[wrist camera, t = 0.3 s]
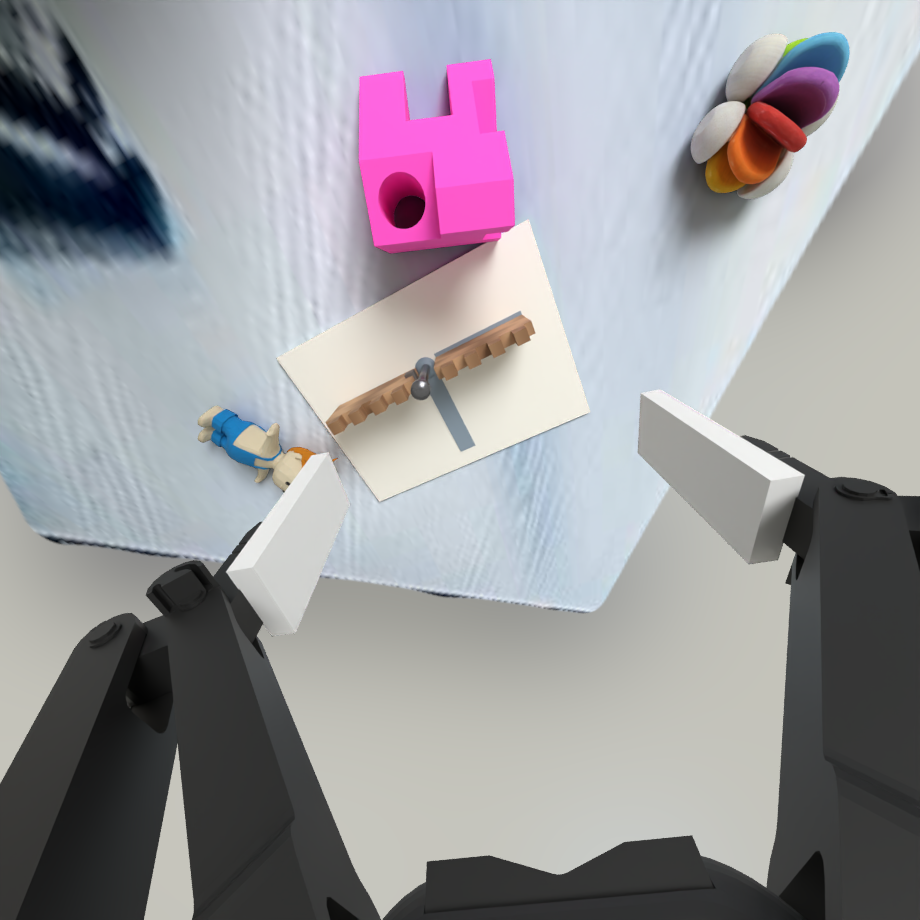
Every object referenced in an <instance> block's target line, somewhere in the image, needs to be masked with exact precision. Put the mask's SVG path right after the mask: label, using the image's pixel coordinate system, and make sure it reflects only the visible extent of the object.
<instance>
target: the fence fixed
mask: <svg viewBox="0 0 920 920" xmlns="http://www.w3.org/2000/svg"><path fill="white" fill-rule="evenodd" d="M533 334H535V330H534V327H533V324H532V322H531V320H529V319H528V318H526V317H525V316H523V315H520V316H518V317H516V318H514V319H512V320H510V321H508V322H506V323H504V324H502V325H500V326H498V327H496V328H494V329H492V330H490V331H488V332H486V333H484V334H482V335H480V336H478V337H476V338H474V339H472V340H470V341H468V342H466V343H464V344H462V345H460V346H458V347H455V348H453V349H451V350H449V351H447V352H445V353H443V354H441V355H439V356H437V357H436V358H435V364H434V370H435V372H436V374H437V376H438V378H439V380H440V379H442V378H444V377H445V379H446V381H447V380H450V379H452V378H454V377H456V376H458V371H459V370H461V369H463V368H465V367H467V366H468V367H469V369H472V368H475V367H477V366H479V365H481V364H482V363H481V359H484V358H486V357H488V356H490V355H492V356H493V358H495V357H497V356H499V355H502V354H504V353H506V351H505V349H504V348H506V347H508V346H510V345H513V344H515V343H516V344H517V345H518V346H520V345H522V344H524V343H526V342H529V341H531V339H530V336H531V335H533Z"/></svg>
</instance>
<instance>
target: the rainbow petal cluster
mask: <svg viewBox="0 0 920 920" xmlns="http://www.w3.org/2000/svg"><path fill="white" fill-rule="evenodd" d="M787 42H788V40H787V37H786V36H785V35H782V34H769V35H766V36H764V37H762V38H760V39H758V40H756V41H755V42H753V43H752V44H751V45H750V46H749V47H747V49H746V50H745V51H744V52H743V53H742V54H741V55H740V57H739V58H738V59H737V61H736V62H735V64H734V65H733V67H732V69H731V71H730V73H729V76H728V79H727V83H726V97H727V100H728V102H725V103H722V104H720V105H718V106H716V107H715V108H713V109H712V110H711V111H710V112H709V113H708V114H707V115H706V116H705V117H704V118H703V119H702V121H701V122H700V123H699V125H698V126H697V128H696V130H695V132H694V134H693V137H692V141H691V154H692V157H693V159H694V161H695V162H696V163H698V164H700V163H703V162H705V161H707V160H708V161H707V165H706V171H705V177H706V182H707V185H708V187H709V188H710V189H711V190H712V191H714V192H718V193H728V192H732V191H735V190H737V194H738V196H739V197H741V198H745V199H755V198H759V197H762V196H764V195H766V194H768V193H770V192H771V191H773V190H774V189H775V188H777V187H778V186H779V185H780V184H781V183H782V182H783V180H784V179H785V178H786V176H787V175H788V173H789V171H790V169H791V166H792V163H793V152H797V151H799V150H800V149H802V148H803V147H804V145H805V144H806V141H807V136H809V135H810V134H812V133H813V132H814V131H816V130H817V129H818V128H819V127H820V126H821V125H822V124H823V123H824V122H825V121H826V120H827V119H828V117H829V116H830V114H831V113H832V111H833V109H834V107H835V105H836V103H837V100H838V96H839V82H840V80H841V78H842V76H843V74H844V72H845V70H846V67H847V64H848V60H849V45H848V41H847V39H846V38H845V36H844V35H842V34H840V33H836V32H829V33H822V34H818V35H815V36H813V37H811V38H805V39H800V40H797V41H794V42H792V43H790V44H788V45H787ZM745 108H746V109H747V111H746V113H745V114H744V112H745Z"/></svg>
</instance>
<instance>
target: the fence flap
mask: <svg viewBox="0 0 920 920" xmlns="http://www.w3.org/2000/svg"><path fill="white" fill-rule="evenodd" d="M418 378H419V374H418V372H417V370H416V368H414V369H412V370H410V371H408V372H406V373H404V374H402V375H400V376H398V377H396V378H394V379H392V380H390V381H388V382H386V383H384V384H382V385H380V386H378V387H376V388H374V389H372V390H370V391H368V392H366V393H364V394H362V395H360V396H358V397H356V398H354V399H352V400H350V401H348V402H346V403H344V404H342V405H340V406H338V407H337V409H336V410H335V411H334V412H333V414H332V415H331V416H330V417H329V419H328V420H327V421H326V422H325V423H326V424H327V426H328V428H329V429H330V430H331V432H332V433H333V435H336V434H338V433H341V432H343V431H344V430H345V429H346V427H347V426H348V424H350V423H353V424H354V426H355V425H357V424H359V423H361V422H363V421H365V420H366V418H367V416H368V415H369V414H371V413H374V414H375V416H376V415H378V414H380V413H382V412H384V411H386V410H387V408H388V405H390V404H392V403H394V402H395V403H396V405H399V404H401V403H403V402H405V401H407V400H408V398H409V395H410V394H411V391H410V390H411V386H412V383H413V382H414V381H415V380H418Z"/></svg>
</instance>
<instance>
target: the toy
mask: <svg viewBox="0 0 920 920" xmlns="http://www.w3.org/2000/svg"><path fill="white" fill-rule="evenodd" d="M198 425H199V426H201V427H206V428H205V429H203V430H202V431H201V432H200V433H199V436H198V440H199V441H200V442H203V443H204V442H206V441H209V440H211V441H212V442H214V443H215V444H216V445H217V446H219V447H221V446H222V447H223V448H224V449H225V450H226V452H227V454H228V455H229V456H230V457H231V458H232V459H234V460H236V461H237V462H240V463H243V464H246V465H249V466H252V467H255V468H257V469H258V476H257V478H256V479H255V482H256V483H259V482H261V481H263V480H264V479H265V478H266V476H267V474H268V471H269V470H270V469H271V468H273V469H274V472H273V475H272V478H273V481H274V483H275V485H277V486H278V487H279V488H280V489H282V490H283V492H285V491H286V489H287V488H288V487H289V485H290V484H291V483H292V481H293V480H294V479H295V477H296V476H297V475H298V473H299V472H300V470H301V469H302V468H303V466H304V465H305V464H306V462H307V461H308V460H309V458H310V457H311V455H316V454H315V453H313V452H311V451H309V450H308V449H305V448H301V447H293V448H291V449H289V450H288V451H287V453H286V454H284V453H283V451H282V449H281V446H280V444H279V438H278V437H279V428H280V427H279V425H278V424H277V423H274V424H273V425H272V426H271V427H270V428H269V430H268V431H267V432H266V431H265V430H264V429H263V428H261V427H260V426H258V425H256V424H254V423H252V422H248V421H242V420H241V419H239V418H238V415H237V414H235V413H233V412H231V411H229V410H227V409H225V410H224V409H222V408H221V407H219V406H214V407H212V408H211V409H209V410H208V411H207V412H205V413H204V414H203V415H202V416H201V417H200V418H199V419H198ZM336 459H338V458H336ZM336 459H333V460H332V462H334V461H335V460H336Z"/></svg>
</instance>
